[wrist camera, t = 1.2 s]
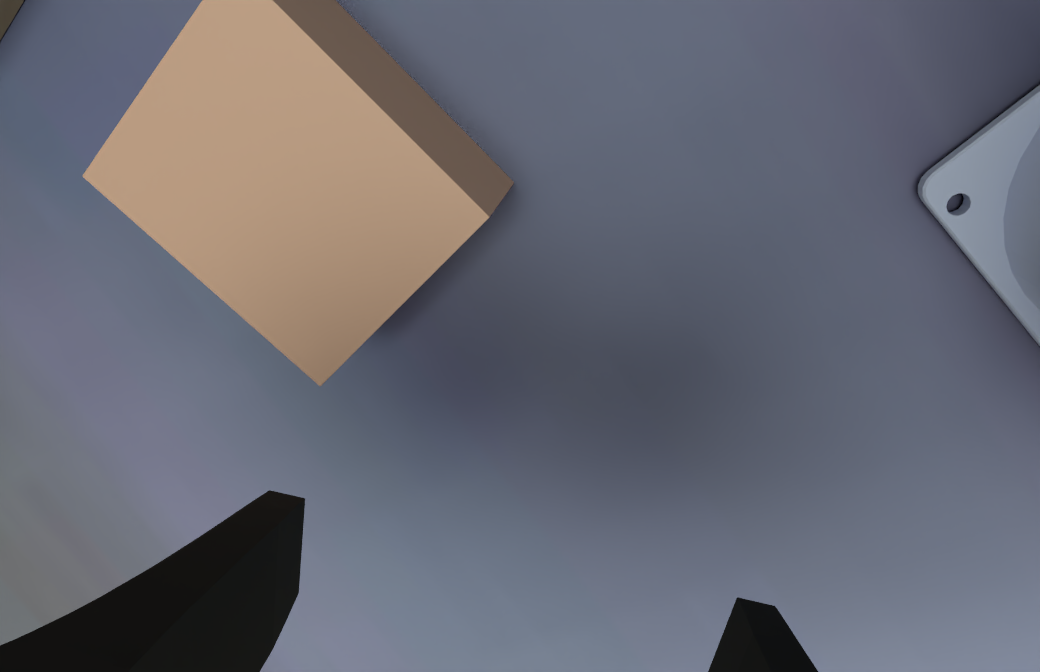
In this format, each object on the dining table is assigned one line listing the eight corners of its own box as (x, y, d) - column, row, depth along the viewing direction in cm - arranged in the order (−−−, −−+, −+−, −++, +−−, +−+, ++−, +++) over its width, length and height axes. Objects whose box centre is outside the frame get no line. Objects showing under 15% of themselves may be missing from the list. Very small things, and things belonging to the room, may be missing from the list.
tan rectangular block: (515, 181, 19) (489, 217, 15) (372, 325, 21) (319, 386, 18) (311, -27, 18) (231, -42, 14) (181, 149, 20) (82, 176, 16)
